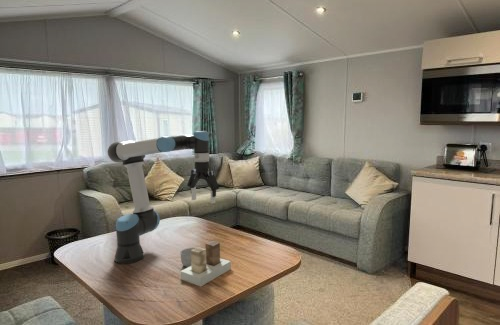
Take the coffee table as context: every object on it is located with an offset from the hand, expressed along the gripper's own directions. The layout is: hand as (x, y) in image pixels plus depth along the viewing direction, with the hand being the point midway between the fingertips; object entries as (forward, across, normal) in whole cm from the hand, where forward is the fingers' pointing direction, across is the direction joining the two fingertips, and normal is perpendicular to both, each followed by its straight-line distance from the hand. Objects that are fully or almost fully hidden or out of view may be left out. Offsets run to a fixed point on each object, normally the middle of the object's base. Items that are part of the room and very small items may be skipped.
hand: (203, 201), depth 176 cm
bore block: (+33, +11, -11) cm, 36 cm away
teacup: (+33, -2, -7) cm, 34 cm away
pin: (+32, +11, -16) cm, 37 cm away
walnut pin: (+33, +11, -6) cm, 35 cm away
